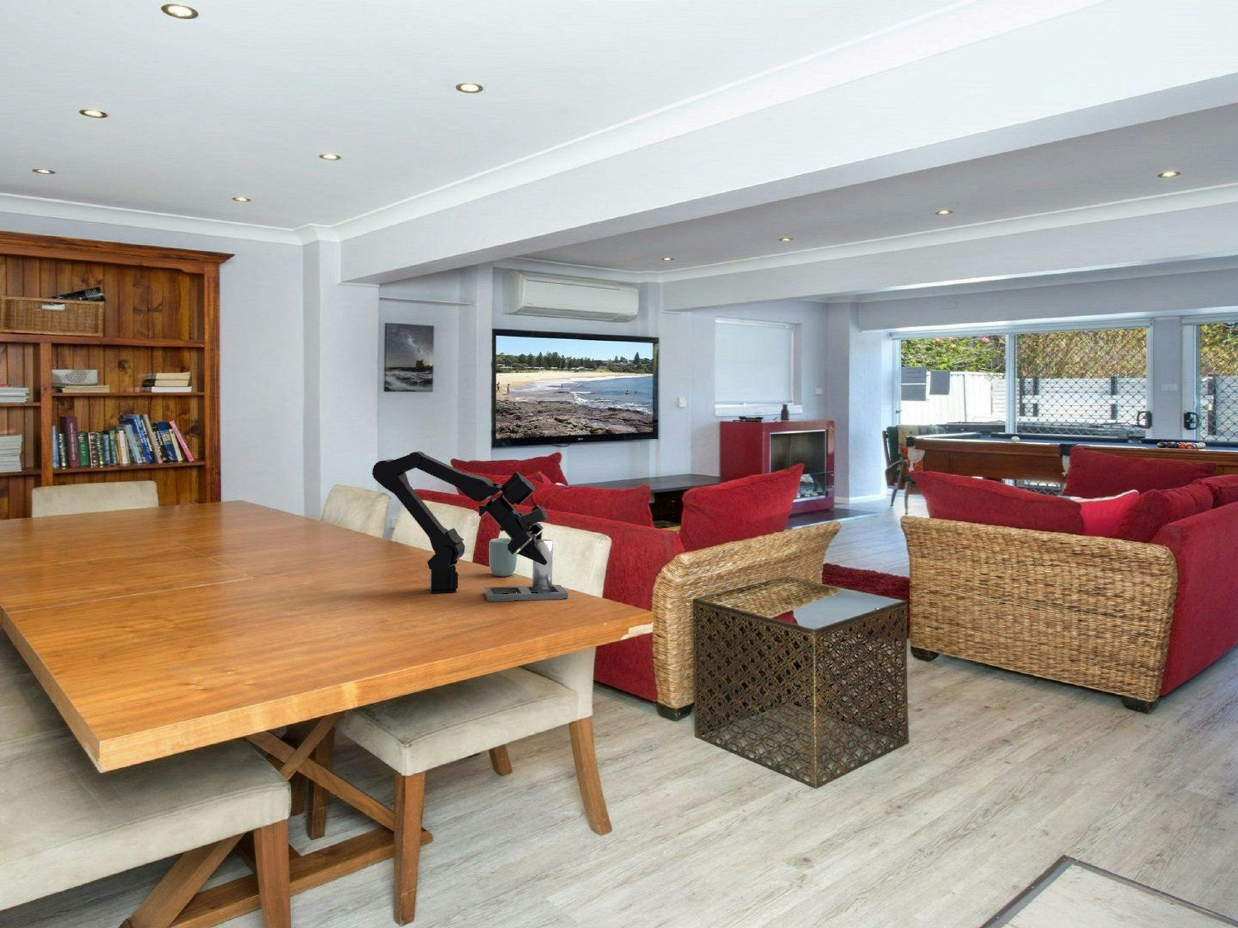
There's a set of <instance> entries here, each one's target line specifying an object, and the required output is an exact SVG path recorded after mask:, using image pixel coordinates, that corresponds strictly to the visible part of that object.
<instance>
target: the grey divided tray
mask: <svg viewBox="0 0 1238 928" xmlns="http://www.w3.org/2000/svg"><path fill="white" fill-rule="evenodd" d="M516 592H517V593H516ZM531 592H538V593H531ZM503 593H508V594H503ZM483 594H485V595H484V597H485V598H486V600H487V602H488V601H489V602H490V601H495V602H515V601H514V600H523V601H545V600H547V599H548V600H549V599H551V600H567V599H569V593H568V592H567V590H566V589H564V587H563V586H562V585H561V584H552V588H550V589H535V588H532V585H518V586H517V585H516V586H512V585H511V586H484V587H483ZM564 598H566V599H564ZM548 600H547V601H548ZM489 602H488V603H489Z"/></svg>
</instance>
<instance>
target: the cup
mask: <svg viewBox="0 0 1238 928" xmlns="http://www.w3.org/2000/svg"><path fill="white" fill-rule="evenodd" d="M511 540H512V539H511V538H510V537H509V538H508V537H507V538H505V537H501V538H499V537H498V538H492V539H490V540H489V545H488V547H489V548H488V556H489V557H488V558H489V559H488V561H489V568H490V571H491V573H492V574H493V575H495V576H496V575H497V577H509V576H511V575H513V574H514V573H515V571H516V567H517V563H518V554H517V553H518V550H517V551H516V552H515V553H514V554H513V555H512V554H511V553H510V552H509V550H508V543H509V542H511Z"/></svg>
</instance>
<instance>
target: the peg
mask: <svg viewBox="0 0 1238 928" xmlns="http://www.w3.org/2000/svg"><path fill="white" fill-rule="evenodd" d="M536 546H537V547H538V549H539V550H540V552H541V553H542V554H543V556H544V557H545V559H546V561H547V564H546V565H542V564H540V563H538V562H536V561H533V560H532V580H531V581H532V582H531V583H532V585H531V586H532V588H535V589H550V588H552V585H553V554H554V552H553V551H554V540H552V539H546V538H542V539H537V540H536Z"/></svg>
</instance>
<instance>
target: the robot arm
mask: <svg viewBox="0 0 1238 928" xmlns="http://www.w3.org/2000/svg"><path fill="white" fill-rule="evenodd" d="M414 469H418V470H420V471H422V472H424V473H426V474H427V475H430V476H433V477H435V478H436V479H439V480H441V481H443V482H445V483H448V484H450V485H451V486H453V487H455V488H456V489H457V490H459V491H460V492H461V493H462V494H464V495H465V496H466V497H467V498H469V499H471V500H472V501H474V502H479V503H480V502H483V501H486V500H488V499H489V500H488V501H487V502H486V503H485V504H480V505H478V509H479V510H478V516H479V517H482V516H485V515H486V514H488V516H489V517H491V518H492V520H494V522H496V524H497V525H498V526H499V530H500V531H501V532H504V533H505V534H506V535H507V536H508V537H509V538H510V539H512V540H511V542H509V543H508V550H509V552H510V553H511V554H512V555H513V554H514V553H515V552H516V551H517V556H518V555H520V556H521V557H524V558H527V559H528V560H531V561H532V562H533V561H536V562H538V563H540V564H542V565H546V564H547V561H546V559H545V557H544V556H543V554H542V553H541V552H540V550H539V549H538V547H537V546H536V540H537V539H543V538H542V537H543V529H544V527H543V525H541V524H540V523H542V522H544V521H547V520H548V519H549V517H548V515H547V509H545V507H544V506H540V505H539V504H537V505H534V506H532V507H531V511H530V512H527V513H526V514H524V513H523V512H522V511H517V510H516V509H515V508H514V507H513V506H515V505H518V506H520V505H522V503H523V502H525V501H526V500H527V499H528V498H529V497H530V496H531V495H532V494H533V493H534V492H536V488H535V486H534V485H533V483H532V482H531V481H530V480H529V479H527V478H526V477H525V476H523V475H522V474H521V473H520V472H518V471H515V472H514V473H513V474H512V475H511V477H510V478H509V479H508V480H507V481H506V482H504V484H501V483H497V482H494V481H492V479H490V478H489V477H485V476H481V475H478V474H473V473H468V472H464V471H461V470H459V469H458V468H456V467H453V466H450V465H449V464H446V463H444V462H442V461H441V460H438V459H436V458H433V457H431V456H430V455H428V454H425V453H424V451H419V450H418V451H413V452H410V453H409V454H407V455H403V456H401V457H398V458H396V459H392V458H390V459H389V458H388V459H383V460H379V461H377V462H376V463H374V465H373V467H372V473H371V475H372V477H373V479H374V480H375V481H376V482H378V484H380V485H381V486H382V487H383V488H384V489H386V490H388V491H389V492H390V493H392V494H394V496H395V497H396V498H397V499H398V501H400V503H401V504H402V505H403V507H404V508H405V509H406V511H407V512H408V513H409V514H410V515H411V517H413V519H414V521H415V522H416V523H417V524H418V525H419V527H420V528H421V530H423V532H424V533H425V534H426V536H427V537H428V539H429V542H430V544H431V545H430V546H431V548H432V550H433V552H434V553H435V554H434V555H433V556H431V558H429V559H428V560H427V561H426V563H427V566H428V569H429V570H430V577H429V578H430V585H429V590H430V593H432V594H436V593H437V594H439V593H457V589H459V572H458V571H457V567H456V565H457V564H458V561H459V559H460V558H462V557H463V556H464V554H465V551H466V545H465V543H464V542H463V541H464V538H462V537H461V536H460V535H459V534H458V532H457V530H456V529H455V528H454V527H452V528H451V529H447V528H446V527H444V526H443V525H442V524H441V522H440V520H439V519H438V518H437V517H436V516H435V515H434V513H433V512H432V511H431V510H430V508H429V507H428V506H427V505H426V504H425V502H424V501H423V499H422V498H421V497H420V496H419V494H418V493H417V492H416V491H415V489H413V487H412V486H411V484H410V482H409V478H408V476H407V473H406V472H408V471H412V470H414ZM498 494H500V495H499V496H498V497H497V498H495V497H494V498H493V496H496V495H498Z"/></svg>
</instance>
